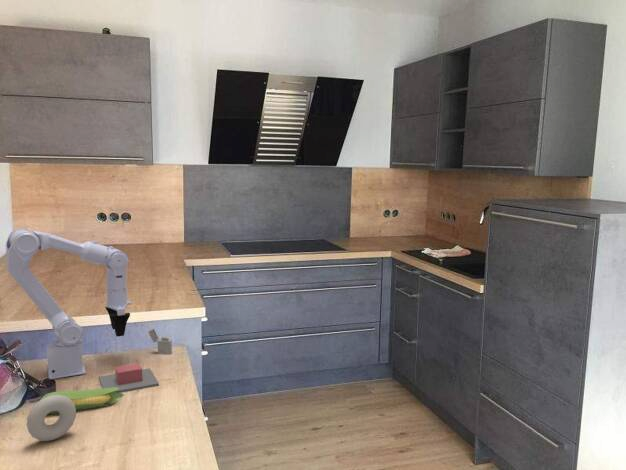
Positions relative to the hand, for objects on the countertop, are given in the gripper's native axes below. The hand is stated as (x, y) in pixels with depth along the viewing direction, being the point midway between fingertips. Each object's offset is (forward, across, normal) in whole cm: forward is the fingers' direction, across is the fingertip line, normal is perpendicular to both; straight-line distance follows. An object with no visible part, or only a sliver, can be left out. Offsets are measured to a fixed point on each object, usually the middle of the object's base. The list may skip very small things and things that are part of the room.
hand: (118, 332), depth 157 cm
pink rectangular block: (+9, -17, 0) cm, 19 cm away
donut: (+10, -41, +20) cm, 47 cm away
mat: (+9, -17, 0) cm, 19 cm away
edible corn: (+10, -28, +13) cm, 32 cm away
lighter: (+10, +2, -13) cm, 16 cm away
